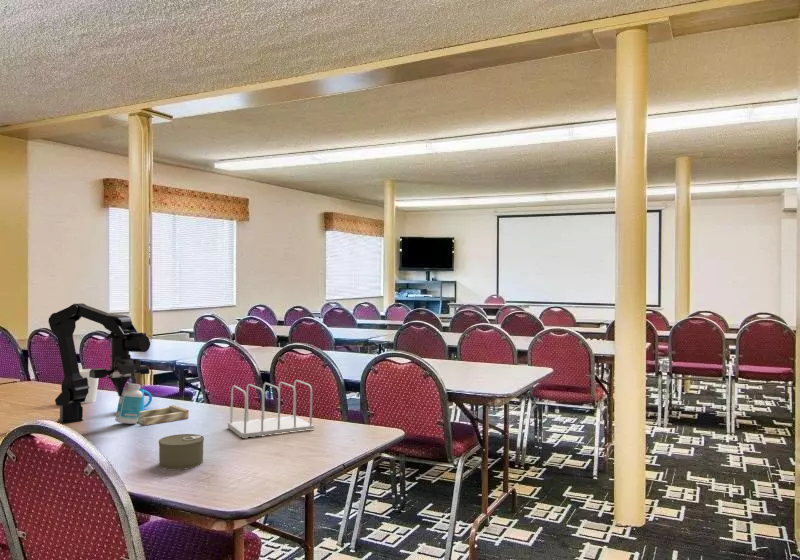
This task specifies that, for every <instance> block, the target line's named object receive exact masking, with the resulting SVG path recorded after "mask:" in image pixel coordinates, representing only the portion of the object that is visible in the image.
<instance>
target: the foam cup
mask: <svg viewBox="0 0 800 560" xmlns="http://www.w3.org/2000/svg"><path fill="white" fill-rule="evenodd" d="M91 369H92V368H83V369H79V372H80V375H81V376H82V377H83V378H85V377H87V379H88V386H89V387H90V388H88V394H87V396H86V399H85V402H80V403H81V404H91V403H95V402H96V400H97V393H98V387H99V381H100V380H99V379H100V378H91V377H89V372H90V370H91Z"/></svg>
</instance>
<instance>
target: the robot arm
mask: <svg viewBox="0 0 800 560" xmlns="http://www.w3.org/2000/svg"><path fill="white" fill-rule="evenodd" d="M82 318H83V319H87V320H90V321H92V322H95V323H97V324H101V325H102V326H103V327H104V328H105V329H106V330H107V331H109V334H108V335H107V336H106V337H105V339H107V340H108V339H109V340H111V348H110V349H111V350H110V351H111V353H110V354H109V355H110V356H109V357H110V361H111V362H110V366H109V369H107V368H101V367H100V368H90V369H91V370H90V372H89V377H91V378H99V379H104V378H106V377H107V379H109V380H111V382H112V384H113V386H114V388H115V390H116V393H117V396H118V397H120V396H121V394H122V392H123V390H124V389H125V387H126V385H127V382H128V381H129V380H130V379H131V378H133V375H135V374H140V375H149V374H150V366H148V365H144V364H141V363H142V362H141V359H140V358H137V359H133V360H132V357H131V354H130V353H146V352H148V351H149V349H150V346H151V341H150V338H149V337H148V336H147V333H146V332H144V331H143V332H139V331H138V330H137V327H135V325H134V323H133V321H132V318H131V317H130V316H128V315H126V314H125V315H124V314H114V313H109V312H106V311H105V310H104V311H103V310H101V309H97V308H96V307H92V306H90V305H86V304H85V303H82V302H81V303H72V304H71V305H69V306H68V307H66V308H63V309H61V310H58V311H57V312H53V313H51V315H50V316H49V317H48V325H49V329H50V331H51V333H53V335H54V336H55V337H56V338H57V343H58V349H59V354H60V359H61V360H60V361H61V365H62V370H63V376H64V377H63V381H62V383H61V386H60V387H61V388H60V389H61V392H60V394H59V395H58V396H57V397H56V398H55V400H54V402H55V405H56V406H59V418H58V419H57V420H58V421H59V422H60V423H62V424H69V423H73V422H81V421H84V419H83V417H84V416H83V414H84V413H83V411H84V407H83V406H82V403H80V402H85V399H86V396H87V394H88V388H90V387H89V386H88V379H87V377H85V378H83V377H82V376H81V375H80V372H79V370H80V369H79V363H78V362H79V361H78V357H77V352H76V346H75V342H74V341H75V340H74V333H75V330H76V326H77V325H76V322H78V321H80V320H81V319H82Z"/></svg>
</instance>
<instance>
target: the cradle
mask: <svg viewBox="0 0 800 560" xmlns="http://www.w3.org/2000/svg"><path fill="white" fill-rule="evenodd" d="M189 411H190V410H189V409H186V408H183V407H179V406H176V405H169V407H168V406H167V407H162V408H161V407H159V408H155V409H147V410H144V411H140V412H139V417H138V421H137V423H136V424H139V425H142V426H150V424H151V425H157V424H162V423H168V422H175V421H180V420H188V419H189V415H190V413H189Z"/></svg>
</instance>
